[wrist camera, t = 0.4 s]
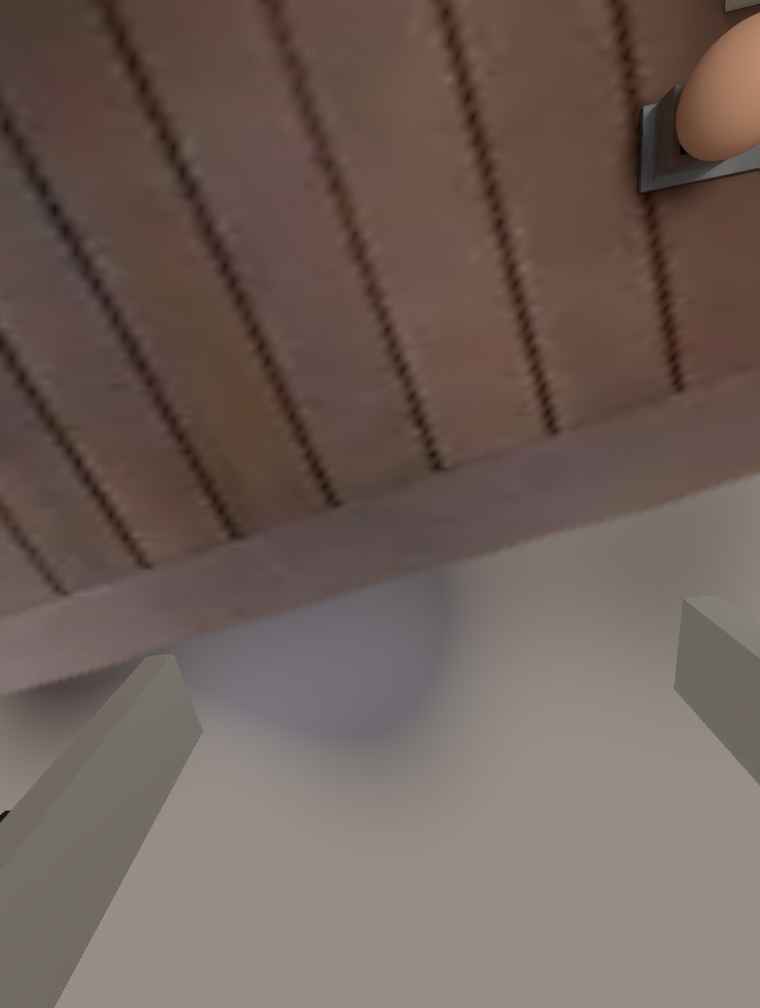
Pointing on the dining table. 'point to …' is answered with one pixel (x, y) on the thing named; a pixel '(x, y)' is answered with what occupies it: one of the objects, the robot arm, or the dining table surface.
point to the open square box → (739, 4)
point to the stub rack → (678, 151)
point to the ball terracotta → (723, 97)
